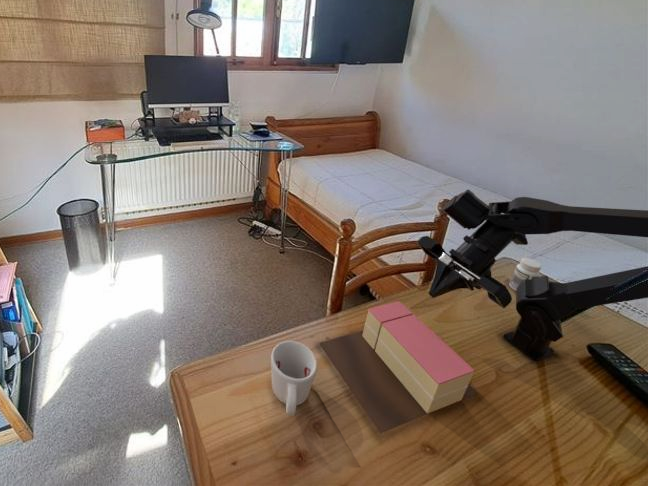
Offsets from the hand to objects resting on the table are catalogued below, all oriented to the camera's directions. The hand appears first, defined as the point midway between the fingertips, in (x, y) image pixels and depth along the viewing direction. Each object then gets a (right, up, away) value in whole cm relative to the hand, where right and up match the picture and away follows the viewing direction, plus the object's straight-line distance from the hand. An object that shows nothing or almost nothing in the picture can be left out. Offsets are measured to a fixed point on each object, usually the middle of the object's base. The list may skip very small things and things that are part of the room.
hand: (430, 296), depth 72 cm
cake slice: (-10, -9, 0) cm, 14 cm away
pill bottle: (+34, -5, +18) cm, 39 cm away
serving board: (-11, -12, -6) cm, 18 cm away
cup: (-32, -14, -12) cm, 37 cm away
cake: (-8, -12, -8) cm, 16 cm away
